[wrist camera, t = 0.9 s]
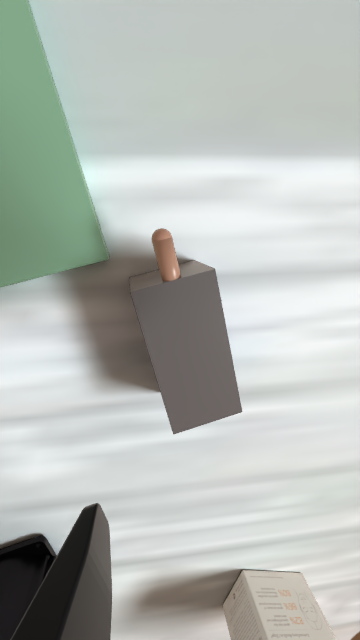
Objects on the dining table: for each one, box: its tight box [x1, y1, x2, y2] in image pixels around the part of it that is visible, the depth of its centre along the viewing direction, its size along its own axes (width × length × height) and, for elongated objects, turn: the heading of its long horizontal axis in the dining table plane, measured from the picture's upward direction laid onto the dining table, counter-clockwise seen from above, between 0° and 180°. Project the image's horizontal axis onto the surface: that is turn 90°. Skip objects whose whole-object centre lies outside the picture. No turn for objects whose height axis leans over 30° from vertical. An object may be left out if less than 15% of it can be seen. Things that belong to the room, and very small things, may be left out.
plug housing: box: [129, 229, 242, 434], centre depth 17 cm, size 4×12×4 cm, turn 13°
